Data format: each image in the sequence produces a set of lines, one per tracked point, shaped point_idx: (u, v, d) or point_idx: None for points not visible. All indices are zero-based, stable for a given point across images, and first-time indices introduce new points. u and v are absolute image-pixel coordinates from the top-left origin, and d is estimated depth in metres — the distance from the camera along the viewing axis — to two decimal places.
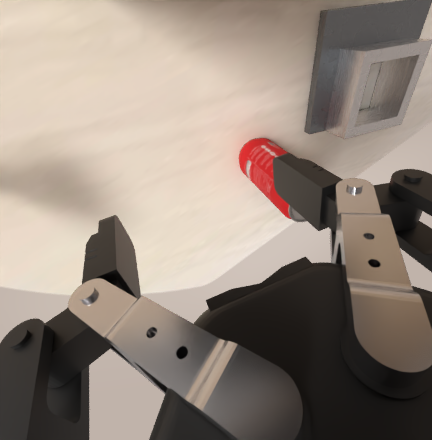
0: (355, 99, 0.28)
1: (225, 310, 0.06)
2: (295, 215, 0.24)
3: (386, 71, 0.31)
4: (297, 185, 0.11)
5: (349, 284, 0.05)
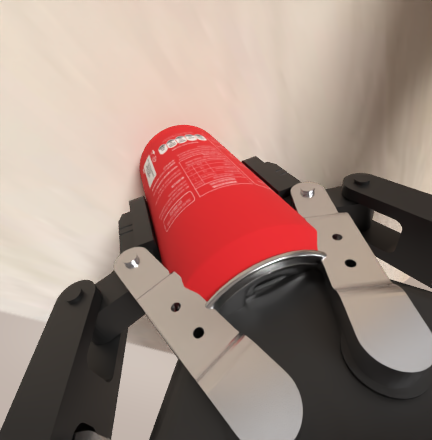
0: None
1: None
2: (230, 303, 0.06)
3: None
4: None
5: (349, 284, 0.05)
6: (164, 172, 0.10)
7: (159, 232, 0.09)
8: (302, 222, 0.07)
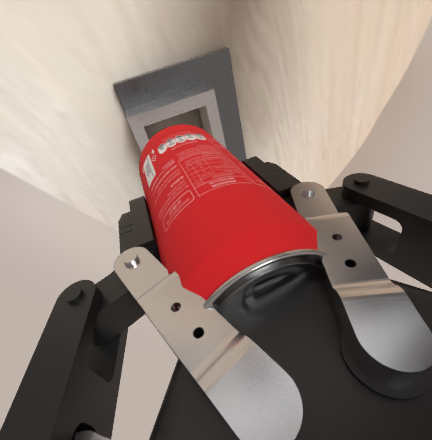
0: (171, 106, 0.24)
1: None
2: (229, 302, 0.06)
3: None
4: None
5: (349, 284, 0.05)
6: (163, 171, 0.10)
7: (158, 231, 0.09)
8: (301, 221, 0.07)
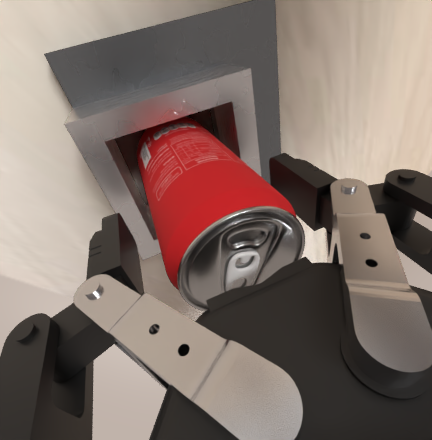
0: (163, 100, 0.12)
1: (225, 310, 0.06)
2: (207, 248, 0.07)
3: None
4: (293, 185, 0.11)
5: (349, 284, 0.05)
6: (157, 154, 0.12)
7: (152, 203, 0.10)
8: (268, 187, 0.08)
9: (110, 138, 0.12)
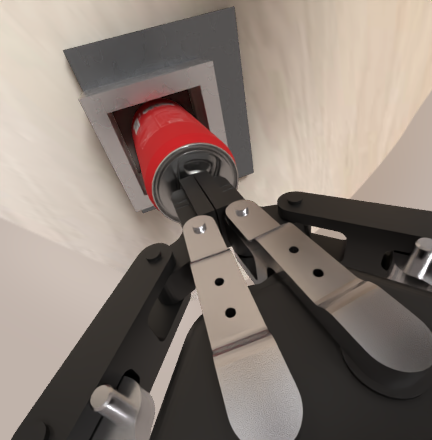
0: (149, 83, 0.16)
1: None
2: (169, 168, 0.12)
3: None
4: None
5: (349, 284, 0.05)
6: (144, 122, 0.16)
7: (139, 153, 0.15)
8: (211, 135, 0.13)
9: (110, 111, 0.16)
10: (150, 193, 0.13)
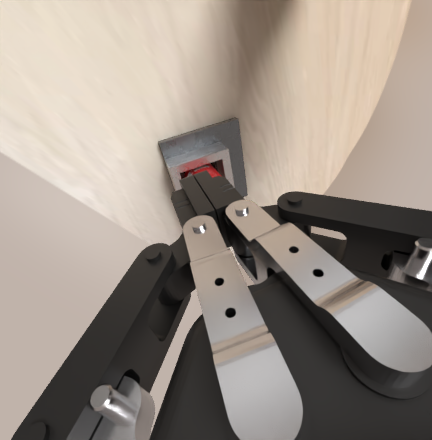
0: (199, 159, 0.35)
1: None
2: None
3: None
4: None
5: (349, 284, 0.05)
6: None
7: None
8: None
9: (181, 172, 0.36)
10: None
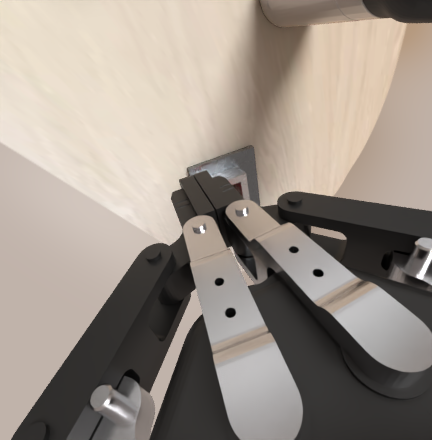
0: None
1: None
2: None
3: None
4: None
5: (349, 284, 0.05)
6: None
7: None
8: None
9: None
10: None
